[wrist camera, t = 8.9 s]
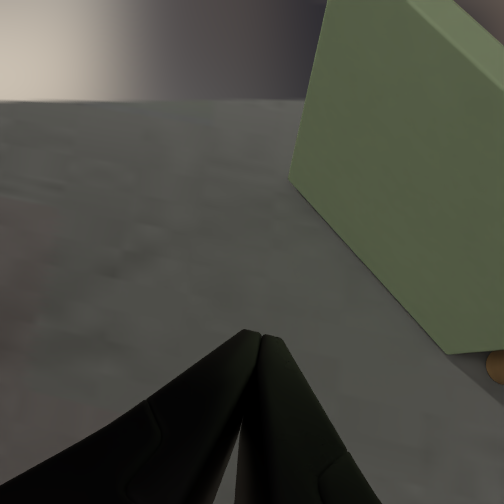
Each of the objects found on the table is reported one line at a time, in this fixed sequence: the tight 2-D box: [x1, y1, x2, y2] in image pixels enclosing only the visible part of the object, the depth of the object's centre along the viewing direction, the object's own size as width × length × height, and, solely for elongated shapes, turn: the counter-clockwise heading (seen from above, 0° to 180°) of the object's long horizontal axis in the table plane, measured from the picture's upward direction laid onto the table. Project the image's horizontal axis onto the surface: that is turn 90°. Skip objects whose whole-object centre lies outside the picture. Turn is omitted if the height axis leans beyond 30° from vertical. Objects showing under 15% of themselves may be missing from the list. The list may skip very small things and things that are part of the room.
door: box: [288, 0, 504, 355], centre depth 15 cm, size 11×1×13 cm, turn 40°
